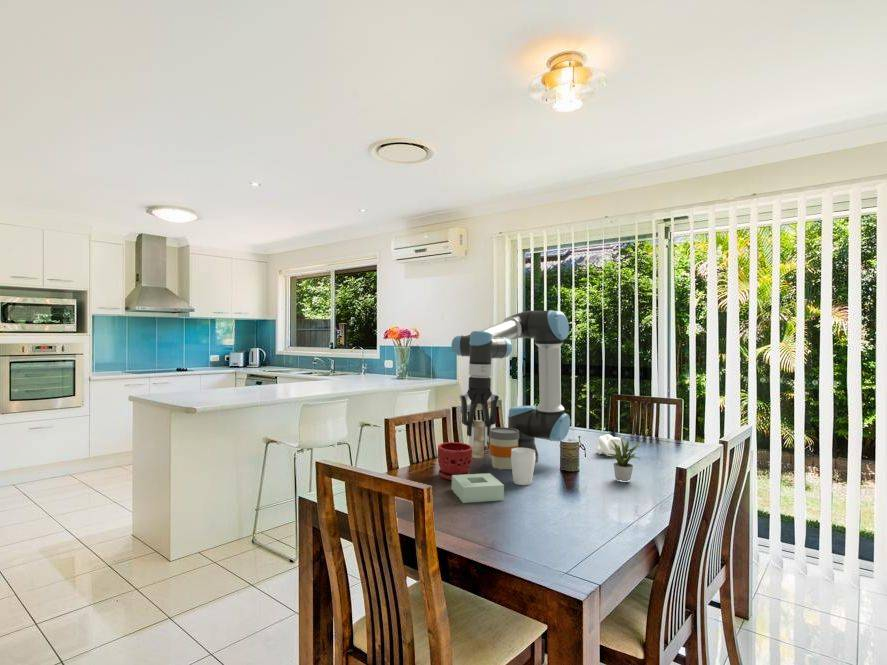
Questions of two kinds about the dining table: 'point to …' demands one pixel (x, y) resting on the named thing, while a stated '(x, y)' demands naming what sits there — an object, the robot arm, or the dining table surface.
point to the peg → (478, 439)
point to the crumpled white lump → (605, 447)
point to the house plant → (623, 461)
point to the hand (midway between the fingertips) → (477, 445)
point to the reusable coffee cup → (502, 446)
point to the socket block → (477, 487)
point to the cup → (522, 465)
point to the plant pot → (454, 459)
